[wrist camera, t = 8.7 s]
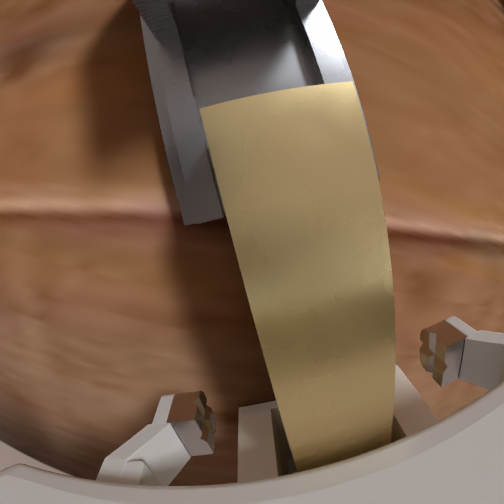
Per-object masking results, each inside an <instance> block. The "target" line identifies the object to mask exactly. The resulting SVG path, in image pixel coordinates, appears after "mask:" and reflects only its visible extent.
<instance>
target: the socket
mask: <svg viewBox="0 0 504 504" xmlns="http://www.w3.org/2000/svg"><path fill="white" fill-rule="evenodd" d="M438 421H439V419H438V418H437V417H436V415H435V414H434V413H433V411H432V410H431V409H430V407H429V406H428V405H427V403H426V402H425V401H424V399H423V398H422V397H421V395H420V394H419V393H418V391H417V390H416V389H415V387H414V386H413V385H412V383H411V382H410V381H409V380H408V378H407V377H406V376H405V374H404V373H403V372H402V371H401V369H400V368H399V367H398V365H396V368H395V396H394V412H393V424H392V434H391V443H393V442H395V441H398V440H400V439H402V438H404V437H407V436H409V435H411V434H413V433H416V432H418V431H420V430H422V429H424V428H426V427H428V426H430V425H432V424H434V423H436V422H438ZM293 473H297V469H296V466H295V463H294V459H293V456H292V453H291V449H290V446H289V442H288V439H287V436H286V432H285V429H284V425H283V422H282V418H281V415H280V412H279V408H278V405H277V401H276V400H275V401H271V402H266V403H261V404H256V405H250V406H245V407H239V416H238V479H237V482H245V481H253V480H260V479H266V478H272V477H277V476H283V475H288V474H293Z"/></svg>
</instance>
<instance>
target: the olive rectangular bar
mask: <svg viewBox="0 0 504 504" xmlns="http://www.w3.org/2000/svg"><path fill="white" fill-rule="evenodd" d="M200 113H201V117H202V121H203V126H204V130H205V134H206V138H207V142H208V146H209V150H210V154H211V158H212V162H213V166H214V170H215V174H216V178H217V182H218V186H219V190H220V194H221V198H222V202H223V206H224V209H225V213H226V217H227V221H228V225H229V229H230V233H231V236H232V240H233V244H234V248H235V252H236V256H237V259H238V263H239V267H240V271H241V274H242V278H243V282H244V286H245V289H246V293H247V297H248V300H249V304H250V308H251V312H252V315H253V319H254V323H255V326H256V330H257V333H258V337H259V341H260V344H261V348H262V352H263V355H264V359H265V362H266V366H267V369H268V373H269V377H270V380H271V384H272V387H273V391H274V394H275V398H276V401H277V405H278V408H279V412H280V415H281V418H282V422H283V425H284V429H285V432H286V436H287V439H288V442H289V446H290V449H291V453H292V456H293V459H294V463H295V466H296V469H297V472H302V471H306V470H310V469H314V468H318V467H322V466H325V465H329V464H333V463H336V462H339V461H343V460H346V459H349V458H352V457H355V456H358V455H361V454H364V453H367V452H369V451H372V450H375V449H378V448H380V447H383V446H385V445H388V444H390V443H391V434H392V424H393V412H394V396H395V368H396V337H395V309H394V292H393V279H392V269H391V259H390V250H389V242H388V234H387V227H386V220H385V214H384V208H383V202H382V196H381V191H380V186H379V180H378V176H377V171H376V166H375V161H374V157H373V153H372V148H371V144H370V140H369V136H368V132H367V128H366V125H365V121H364V117H363V114H362V110H361V107H360V103H359V100H358V97H357V94H356V90H355V87H354V84H353V81H350V82H339V83H329V84H320V85H312V86H305V87H298V88H292V89H286V90H280V91H274V92H269V93H263V94H258V95H254V96H249V97H244V98H240V99H235V100H231V101H227V102H223V103H219V104H215V105H211V106H208V107H204V108H200Z"/></svg>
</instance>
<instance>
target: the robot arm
mask: <svg viewBox="0 0 504 504" xmlns="http://www.w3.org/2000/svg"><path fill="white" fill-rule="evenodd" d="M420 340H421V341H422V342H423V344H422V346H421V348H420V360H421V364H422V365H423V367H424V368H425V370H426V371H428V372H432V373H433V378H434V380H435V381H436V382H437V383H438V384H439V385H440V386H441V387H442V386H444V385H446V384H448V383H450V382H452V381H454V380H456V379H458V378H459V379H460V380H463V381H466V382H468V383H471V384H474V385H477V386H480V387H482V388H485V389H488V390H490V391H488V392H487V393H485V394H484V395H482V396H481V397H479V398H478V399H476V400H475V401H473V402H471V403H470V404H468V405H467V406H465V407H463V408H461V409H460V410H458V411H456V412H455V413H453V414H451V415H449V416H447V417H445V418H444V419H442V420H440V421H438V422H436V423H434V424H432V425H430V426H428V427H426V428H424V429H422V430H420V431H418V432H416V433H413V434H411V435H409V436H407V437H404V438H402V439H400V440H398V441H395V442H393V443H390V444H388V445H385V446H383V447H380V448H378V449H375V450H372V451H369V452H367V453H364V454H361V455H358V456H355V457H352V458H349V459H346V460H343V461H339V462H336V463H333V464H329V465H325V466H322V467H318V468H314V469H310V470H306V471H302V472H297V473H293V474H288V475H283V476H277V477H272V478H266V479H260V480H253V481H245V482H237V483H228V484H216V485H200V486H168V485H169V484H170V483H171V482H172V480H173V479H174V478H175V477H176V475H177V474H178V473H179V472H180V471H181V469H182V468H183V467H184V466H185V464H186V463H187V462H188V460H189V459H190V458H191V456H198V455H207V454H214V444H215V440H214V438H213V436H212V435H213V434H214V433H215V431H216V423H215V417H214V414H213V411H212V409H211V408H210V407H209V406H207V405H206V403H207V398H206V396H205V394H204V392H202V391H196V392H188V393H179V394H170V395H163V396H162V397H161V399H160V401H159V404H158V407H157V410H156V413H155V416H154V419H153V422H152V424H148V425H147V426H146V427H144V428H143V429H142V430H141V431H139V432H138V433H137V434H136V435H134V436H133V437H132V438H130V439H129V440H128V441H127V442H125V443H124V444H123V445H122V446H120V447H119V448H118V449H116V450H115V451H114V452H112V453H111V454H110V455H108V456H107V457H106V458H105V459H104V462H103V464H102V466H101V469H100V471H99V473H98V476H97V478H96V480H89V479H83V478H78V477H73V476H68V475H62V474H58V473H54V472H50V471H46V470H42V469H39V468H35V467H32V466H28V465H25V464H16V465H13V466H10V467H8V468H6V469H4V470H2V471H0V504H504V333H499V332H491V331H483V330H480V331H478V332H477V331H476V330H475V329H473V328H472V327H470V326H469V325H467V324H466V323H465V322H463V321H462V320H460V319H459V318H457V317H456V316H451V317H448V318H446V319H444V320H442V321H441V322H439V323H437V324H435V325H432V326H430V327H428V328H425V329H423V330H422V331H421V334H420Z"/></svg>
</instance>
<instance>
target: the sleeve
mask: <svg viewBox="0 0 504 504" xmlns="http://www.w3.org/2000/svg"><path fill="white" fill-rule="evenodd" d="M131 1H132V3H133V4H134V6H135V7H136V9H137V10H138V12H139V14H140V19H141V26H142V33H143V39H144V45H145V51H146V57H147V63H148V68H149V74H150V79H151V84H152V89H153V94H154V99H155V104H156V109H157V114H158V119H159V123H160V128H161V133H162V137H163V141H164V146H165V150H166V154H167V159H168V163H169V167H170V171H171V175H172V179H173V183H174V187H175V191H176V195H177V199H178V203H179V207H180V210H181V214H182V218H183V221H184V225H185V226H186V225H190V224H194V223H196V224H200V223H204V222H208V221H212V220H215V219H219V218H223V217H224V216H225V215H226V213H225V209H224V206H223V202H222V198H221V194H220V190H219V186H218V182H217V178H216V174H215V170H214V166H213V162H212V158H211V154H210V150H209V146H208V142H207V138H206V134H205V130H204V126H203V121H202V117H201V113H200V108H204V107H208V106H211V105H215V104H219V103H223V102H227V101H231V100H235V99H240V98H244V97H249V96H254V95H258V94H263V93H269V92H274V91H280V90H286V89H292V88H298V87H305V86H312V85H320V84H329V83H339V82H350V81H353V78H352V75H351V72H350V69H349V66H348V63H347V61H346V58H345V55H344V52H343V50H342V47H341V44H340V42H339V39H338V37H337V34H336V32H335V30H334V27H333V25H332V22H331V20H330V18H329V15H328V13H327V11H326V9H325V7H324V4H323V2H322V0H131ZM353 84H354V81H353ZM354 87H355V84H354ZM355 90H356V87H355ZM356 94H357V97H358V100H359V96H358V93H357V90H356ZM359 103H360V100H359ZM360 107H361V110H362V106H361V103H360ZM362 114H363V117H364V113H363V110H362ZM364 121H365V117H364ZM365 125H366V128H367V124H366V121H365ZM367 132H368V128H367ZM368 136H369V132H368ZM369 140H370V136H369ZM370 144H371V140H370ZM371 148H372V144H371ZM372 153H373V157H374V152H373V148H372ZM374 161H375V157H374ZM375 166H376V161H375ZM376 171H377V176H378V180H379V175H378V170H377V166H376ZM379 181H380V180H379Z"/></svg>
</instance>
